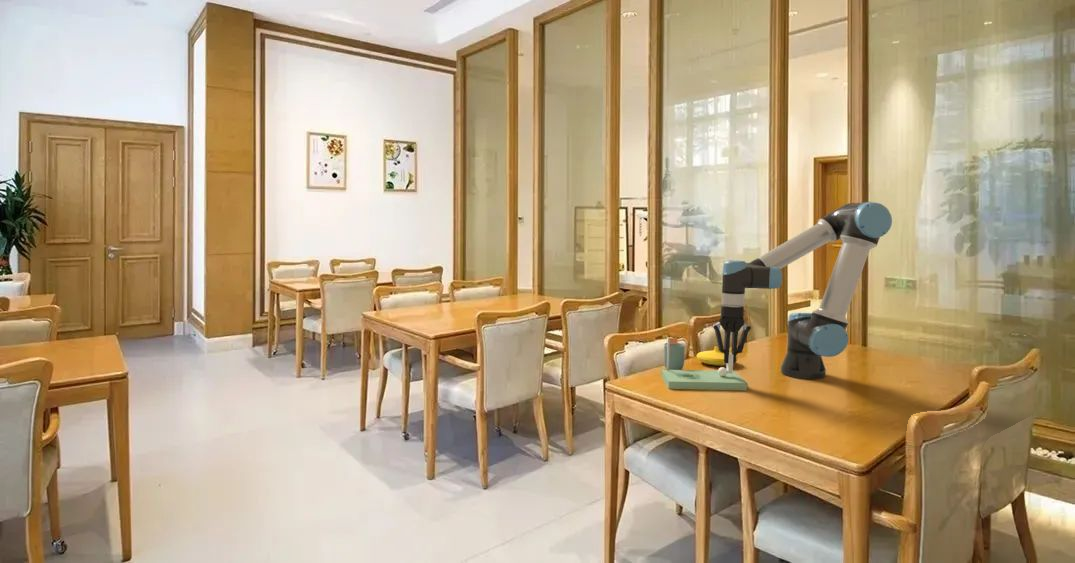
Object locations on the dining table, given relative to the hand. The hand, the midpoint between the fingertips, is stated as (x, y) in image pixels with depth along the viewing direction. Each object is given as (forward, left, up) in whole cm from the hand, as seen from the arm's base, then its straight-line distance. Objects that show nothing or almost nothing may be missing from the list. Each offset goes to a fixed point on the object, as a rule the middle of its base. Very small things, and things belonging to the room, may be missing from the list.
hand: (729, 372), depth 209 cm
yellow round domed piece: (-3, -29, -4) cm, 30 cm away
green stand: (+9, 0, -4) cm, 10 cm away
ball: (+2, 0, 0) cm, 2 cm away
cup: (+16, -17, -4) cm, 24 cm away
